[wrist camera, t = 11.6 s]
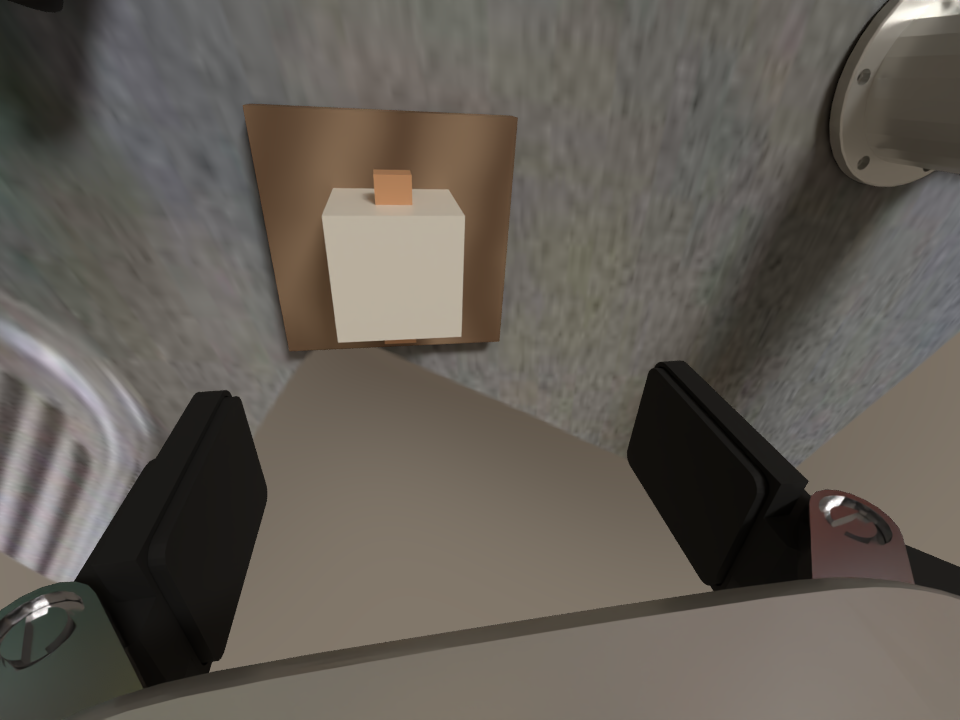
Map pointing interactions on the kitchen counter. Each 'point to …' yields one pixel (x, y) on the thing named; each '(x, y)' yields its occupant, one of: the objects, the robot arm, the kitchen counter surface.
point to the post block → (349, 164)
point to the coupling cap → (395, 260)
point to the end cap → (42, 4)
